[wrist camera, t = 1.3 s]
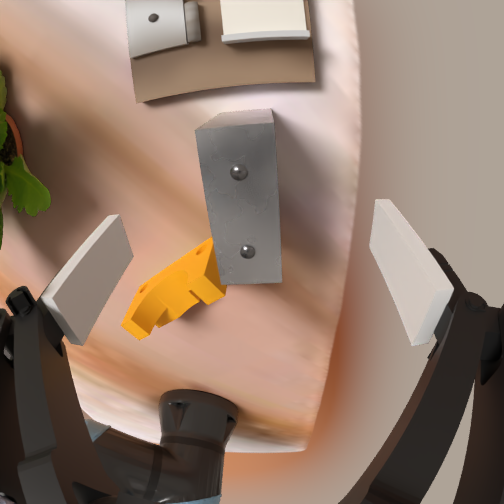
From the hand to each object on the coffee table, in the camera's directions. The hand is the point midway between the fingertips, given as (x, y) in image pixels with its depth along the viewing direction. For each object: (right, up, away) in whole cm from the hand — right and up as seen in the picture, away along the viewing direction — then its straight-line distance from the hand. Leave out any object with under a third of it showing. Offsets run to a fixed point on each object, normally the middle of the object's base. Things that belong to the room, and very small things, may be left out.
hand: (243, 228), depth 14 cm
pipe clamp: (-6, -4, +17) cm, 18 cm away
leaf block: (0, +6, +9) cm, 11 cm away
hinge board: (-3, +20, 0) cm, 20 cm away
